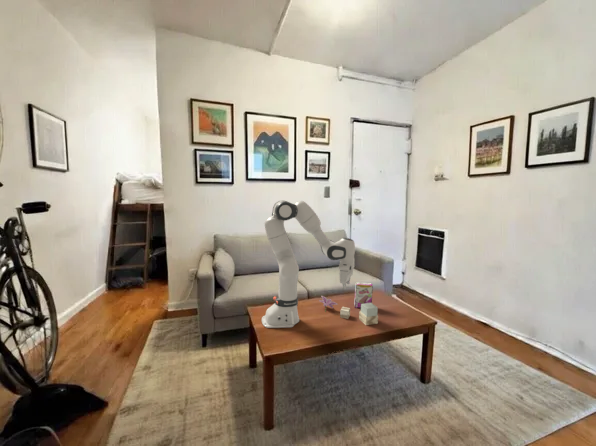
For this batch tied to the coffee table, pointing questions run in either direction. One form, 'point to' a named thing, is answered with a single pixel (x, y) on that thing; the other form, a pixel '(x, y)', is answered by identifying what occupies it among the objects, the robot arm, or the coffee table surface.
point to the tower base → (368, 319)
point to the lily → (327, 302)
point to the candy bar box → (362, 294)
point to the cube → (345, 312)
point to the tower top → (369, 309)
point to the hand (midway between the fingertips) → (346, 286)
